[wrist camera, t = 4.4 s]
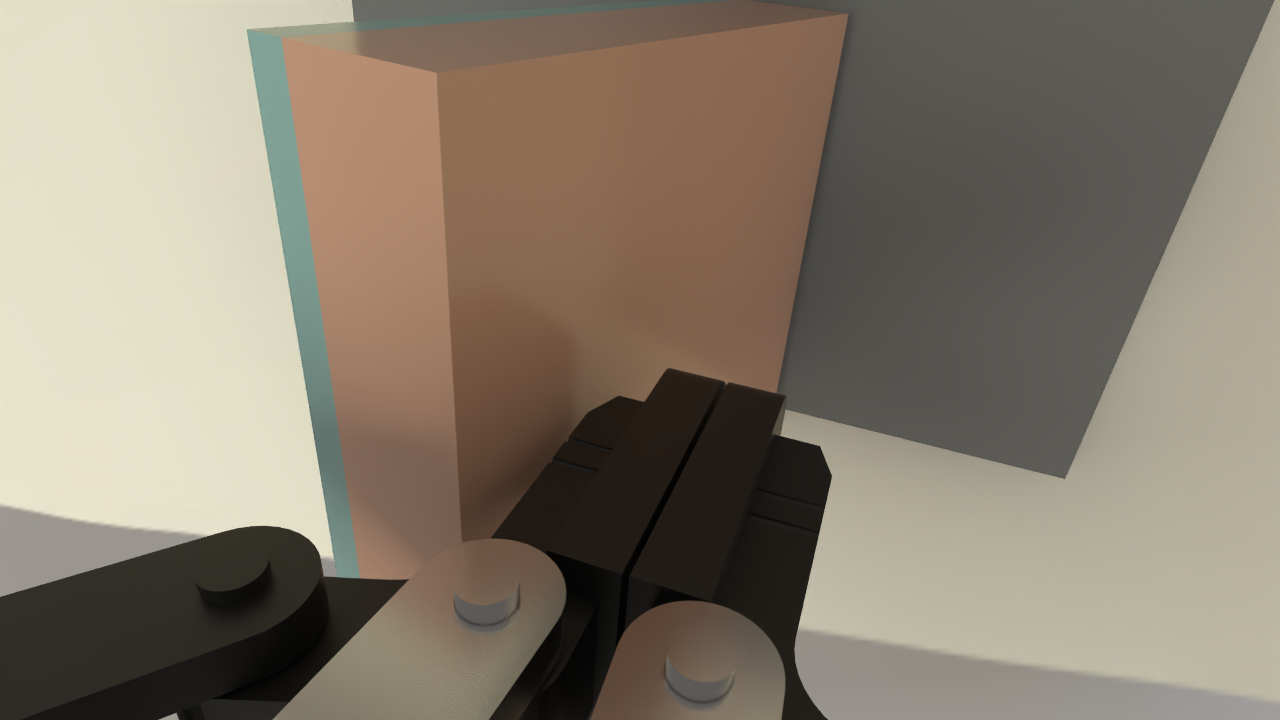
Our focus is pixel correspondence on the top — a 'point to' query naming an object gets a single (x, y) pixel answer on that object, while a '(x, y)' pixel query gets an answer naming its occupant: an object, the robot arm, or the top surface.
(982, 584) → the top surface
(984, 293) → the mat
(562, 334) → the tile
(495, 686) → the robot arm
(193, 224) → the top surface
